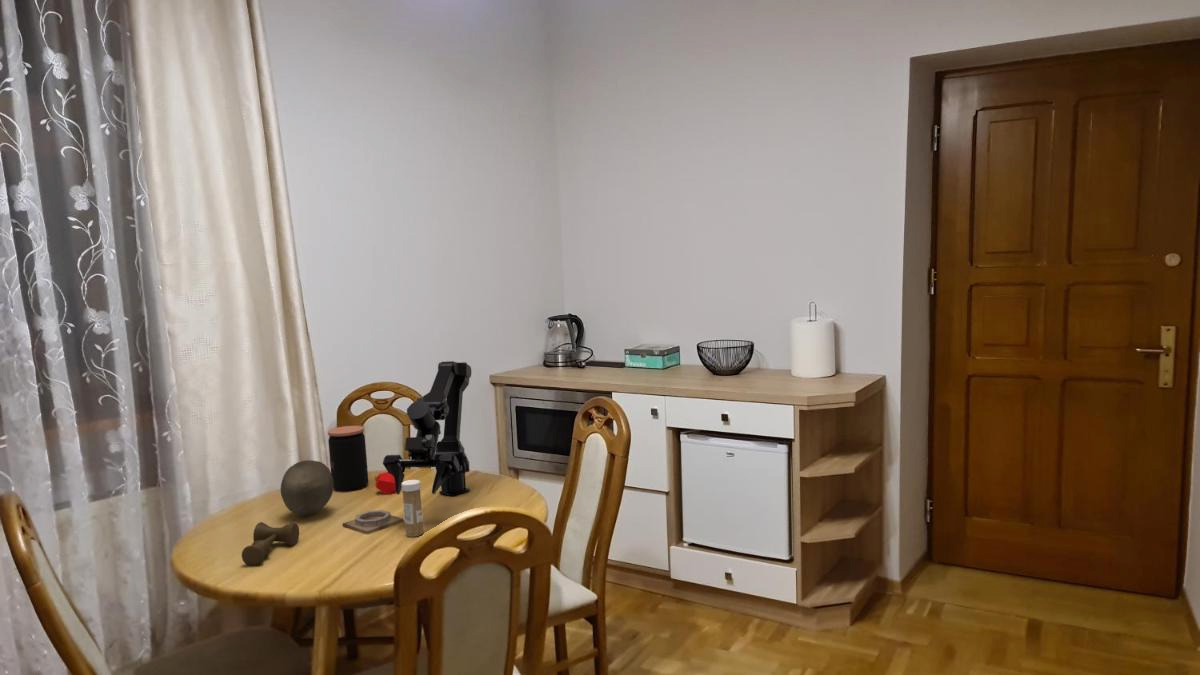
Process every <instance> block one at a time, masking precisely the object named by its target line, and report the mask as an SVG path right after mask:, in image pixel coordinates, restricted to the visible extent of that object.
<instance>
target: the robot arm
mask: <svg viewBox="0 0 1200 675" xmlns="http://www.w3.org/2000/svg"><path fill="white" fill-rule="evenodd" d="M471 377H472V367H471V366H470V364H468V363H467V362H466V361H463V362H457V361H454V360H452V361H450V360H449V361H448V360H447V361H441V362H439V363H438V364H437V373H436V375H435V377H434V380H433V382H432V385H431V388H430V390H429V392H428V393H426V394H425V395H423V396H422V397H417V398H416V401H414V402H412V403H411V404H409V405H408V407H407V409H406V414H407V416H408V418H409V421H410V422H411V424H412V426H413V428H414V429H415V430H416V431H417V432H416V435H415V437H414V436H413V437H412V436H411V437H410V436H409V437H405V446H404V447H405V448H404V451H407V452H408V453H407V455H408V457H410V458H411V459H403V458H402V455H400V454H387V455H385V456H384V457H383V461H382V465H383V466H384V468H385V469H386V472H388V473H389V474H392V475H393V476H394V479H395V486H396V492H395V493H396V494H397V495H400V493H401V492H402V482H404V480H405V474H404V472H406V471H405V470H406V468H435V470H436V471H435V472H436V473H435V476H434V480H433V484H432V489H431V493H432V495H435V494H436V493H437V491H438V490H439V489H441V490H439V494H443V495H445V496H450V497H455V496H458V495H461V494H464V493H467V492H470V488H468V487H467V484H466V473H468V472H470V470H471V469H470V461H469V459H468V457H467V456H468V455H467V454H466V453H465V447H464V446H463V444H462V442H461V440H460V438H461V425H462V424H461V423H462V421H461V420H462V408H463V394H464V392H465V390H466V389H467V387H469V385H470V378H471ZM438 421H444V424H443V425H444V428H443V437H442V439H441V440H439V436H440V435H441V432H442V431H441V425H440V423H439V422H438ZM440 487H441V488H440Z"/></svg>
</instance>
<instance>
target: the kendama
mask: <svg viewBox="0 0 1200 675" xmlns="http://www.w3.org/2000/svg"><path fill="white" fill-rule="evenodd" d="M252 537H253V542H252V543H251V545H247V546H245V547H244V548H243V550H242V551H241V559H242V562H243V563H244V564H245V565H246V566H249V567H256V566H260V565H261V564H263V562H264V560H265V558H266V557H268V556H269V555H270V553H271V546H272V545H273V544H274V542H281V543H283V544H287V545H288V546H290V547H294V546H295V545H296V544H297V543H298V541H299V537H300V527H299V524H298V523H296V522H292V523H289V524H285V525H283V526H281V527H272V526H269V524H267V523H264V522H262V521H260V522H258V523H257V524H256V525H255V526H254V529H253V536H252Z"/></svg>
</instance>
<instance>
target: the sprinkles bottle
mask: <svg viewBox="0 0 1200 675" xmlns="http://www.w3.org/2000/svg"><path fill="white" fill-rule="evenodd" d="M401 492H402V500H403V514H404V515H403V516H404V523H405V536H407V537H411V538H415V537H419V536H421V535H424V533H425V530H424V522H423V520H424V519H423V509H422V508H423V506H422V498H421V497H422V496H421V481H420V480H419V479H409V480H405V481H404V480H403V482H402V488H401Z"/></svg>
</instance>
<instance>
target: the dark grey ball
mask: <svg viewBox="0 0 1200 675" xmlns="http://www.w3.org/2000/svg"><path fill="white" fill-rule="evenodd" d="M281 480H282V481H281V484H280V495H281V497H282V498H281V499H282V501H283V503H284V505H285V507H286V508H287V509H288V510H289V511H290V512H292V513H293V514H295V515H297V516H302V517H303V516H304V517H306V516H312V515H314V514H316V513H318V512H320V511H321V510H322V509H323V508H325V506H326V505H327V504H328V503H329V501H330V499H331V498H332V495H333V492H334V488H333V486H334V484H333V477H332V474H331V469H329V467H328V466H327V465H326V464H325V463H323V462H321V461H318V460H313V459H312V460H311V459H310V460H308V459H307V460H301V461H298V462H295V463H294V464H293V465H291V466H289V468H288V469H287V470H286V471H285V473H284V475H283V476H282V479H281Z"/></svg>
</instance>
